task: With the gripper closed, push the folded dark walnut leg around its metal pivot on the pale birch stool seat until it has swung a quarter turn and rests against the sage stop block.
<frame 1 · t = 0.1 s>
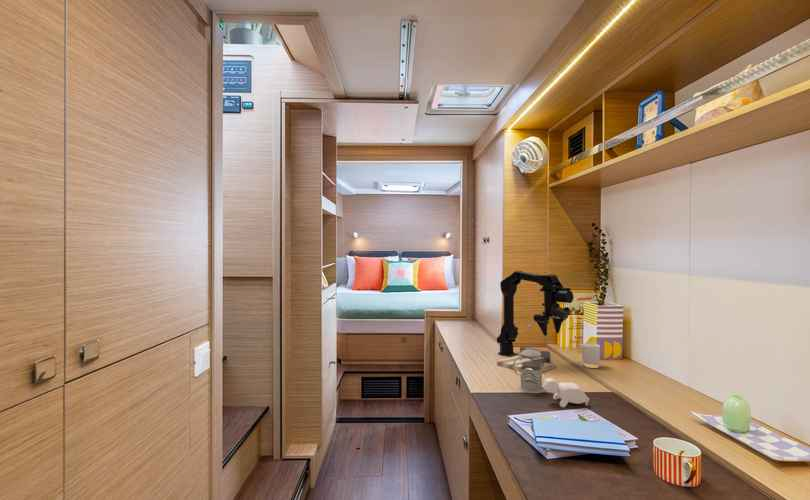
hand: (551, 334, 184), 15 cm above the table, tool pointing down, fingers open, 9 cm apart
white animal figurine: (565, 403, 138), on the table
walnut leg: (535, 354, 188), point 4 cm above the table, hinge at 0.0°
french press: (529, 389, 153), on the table
white cup: (591, 367, 180), on the table
stool seat: (526, 366, 184), on the table
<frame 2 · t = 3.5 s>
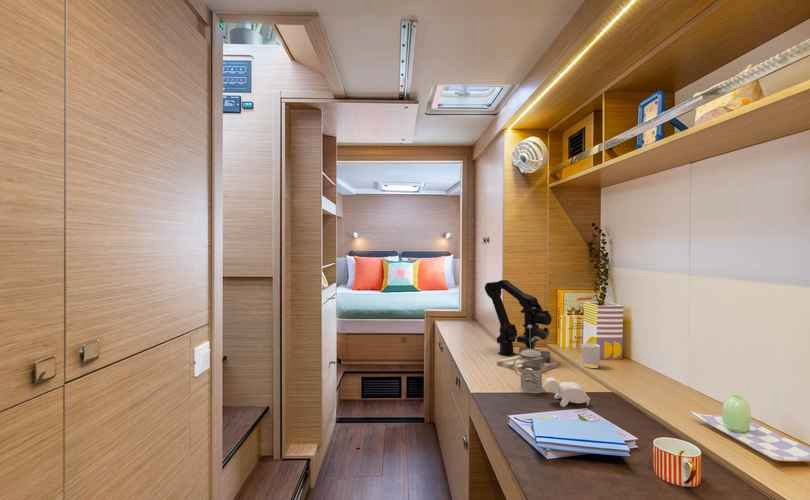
hand: (531, 354, 194), 3 cm above the table, tool pointing down, fingers closed
walnut leg: (535, 354, 188), point 4 cm above the table, hinge at 1.9°, touching gripper
everything else where it was.
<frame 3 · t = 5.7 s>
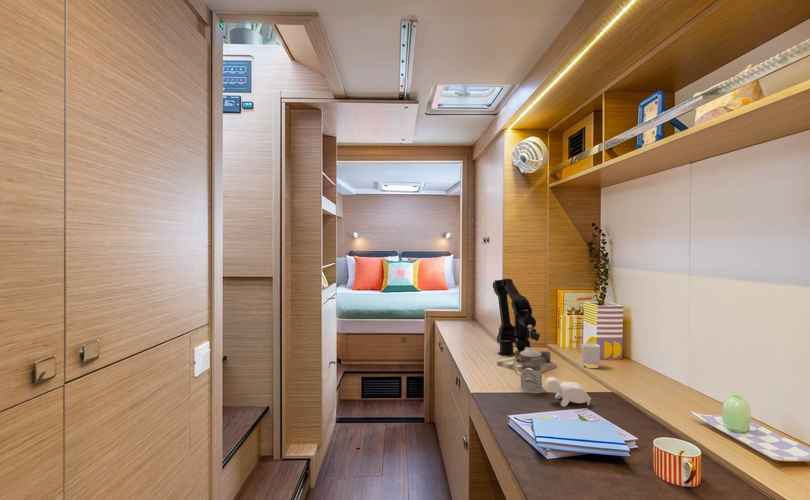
hand: (521, 357, 188), 3 cm above the table, tool pointing down, fingers closed
walnut leg: (532, 356, 184), point 5 cm above the table, hinge at 46.1°, touching gripper
everything else where it was.
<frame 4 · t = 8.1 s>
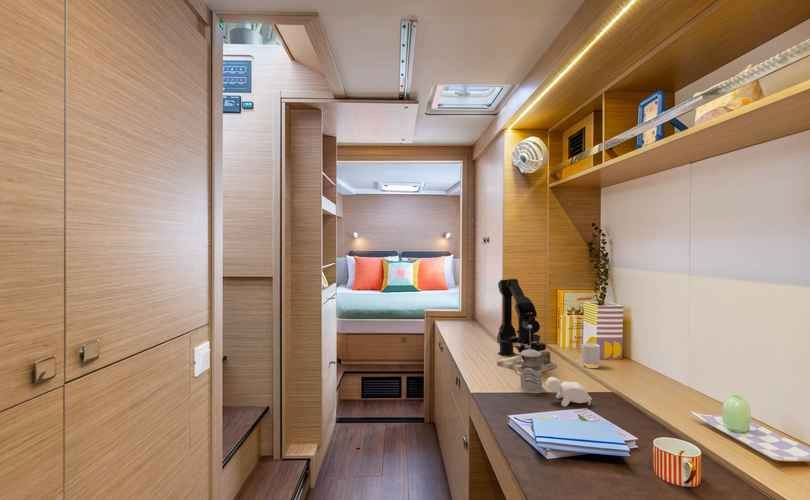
hand: (525, 362, 180), 3 cm above the table, tool pointing down, fingers closed
walnut leg: (538, 358, 180), point 5 cm above the table, hinge at 91.3°, touching gripper, stool seat
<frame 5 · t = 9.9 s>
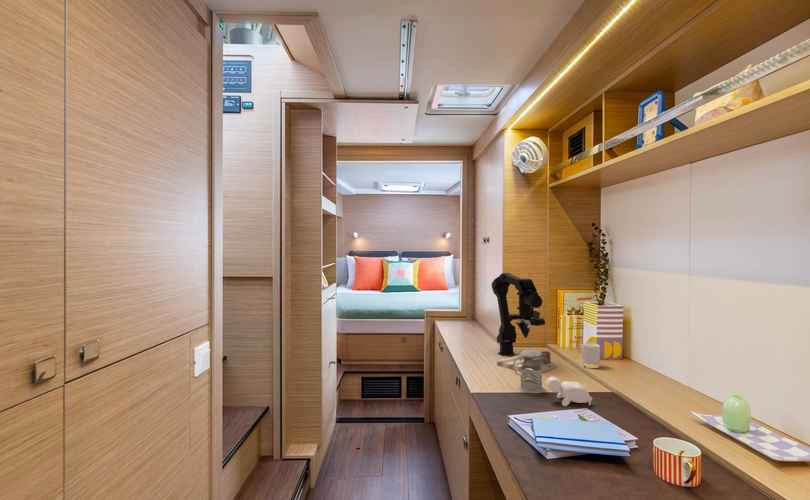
hand: (525, 337, 188), 13 cm above the table, tool pointing down, fingers closed
walnut leg: (538, 358, 180), point 4 cm above the table, hinge at 91.3°
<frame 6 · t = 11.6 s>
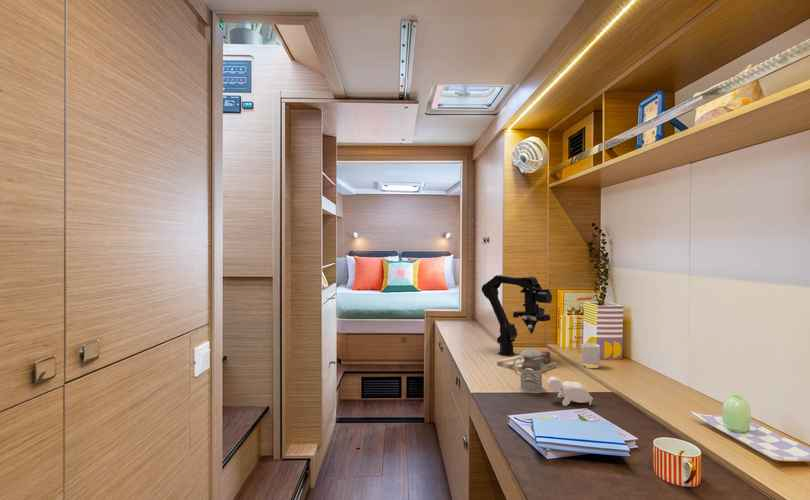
hand: (531, 333, 196), 13 cm above the table, tool pointing down, fingers closed
at the end: walnut leg at +91° (first picture: +0°); the gripper is holding nothing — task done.
